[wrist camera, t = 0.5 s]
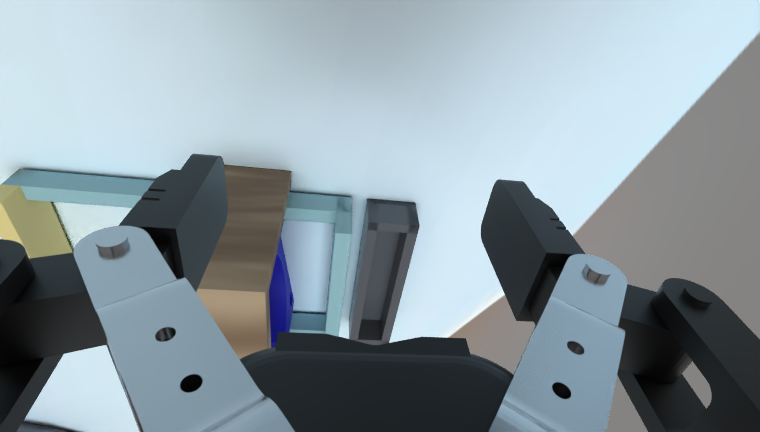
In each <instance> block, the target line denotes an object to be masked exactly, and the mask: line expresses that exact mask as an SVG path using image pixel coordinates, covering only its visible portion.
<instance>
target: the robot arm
mask: <svg viewBox="0 0 760 432" xmlns="http://www.w3.org/2000/svg"><path fill="white" fill-rule="evenodd" d="M227 213H228V202H227V191H226V180H225V170H224V162H223V158H222V157H221V156H214V155H202V154H192V155H191V156H190V158H189V159H188V160H187V162H186V163H185V165H184V166H183V167H182V169H181V170H170V171H168V172H166V173H165V174H163V175H161V176H159V177H158V178H156V179H155V181H154V182H153V183H152V184H151V186H150V187H149V188H148V191H146V192H145V193H144V194H143V196H142V197H141V200H139V201H138V202H137V203H136V204H135V206H134V207H133V208H132V210H131V211H130V212H129V213H128V215H127V216H126V217H125V218H124V220H123V221H122V222H121V223H120V225H119V226H114V227H108V228H104V229H101V230H98V231H95V232H93V233H91V234H89V235H87V236H86V237H84V238H83V239H81V240H80V241H79V242H78V243H77V245H76V246H75V248H74V252H72V253H66V254H59V255H52V256H44V257H37V258H29V257H28V254H27V252H26V250H25V248H24V246H23V245H22V244H20V243H18V242H16V241H12V240H4V239H0V432H17V430H18V429H19V427H20V425H21V424H22V422H23V420H24V419H25V417H26V415H27V414H28V412H29V410H30V409H31V407H32V406H33V404H34V402H35V401H36V399H37V397H38V396H39V394H40V392H41V391H42V389H43V387H44V386H45V384H46V382H47V381H48V379H49V377H50V376H51V374H52V372H53V371H54V369H55V367H56V366H57V364H58V362H59V361H60V359H61V357H62V356H63V354H64V353H69V352H74V351H78V350H83V349H88V348H93V347H97V346H102V345H107V348H108V351H109V353H110V356H111V358H112V361H113V363H114V366H115V369H116V371H117V374H118V376H119V379H120V381H121V384H122V387H123V389H124V392H125V394H126V397H127V399H128V402H129V405H130V407H131V410H132V412H133V415H134V418H135V420H136V423H137V426H138V428H139V431H140V432H606V428H607V423H608V418H609V413H610V408H611V403H612V398H613V393H614V388H615V383H616V378H617V375H618V377H619V379H620V380H621V382H622V384H623V386H624V388H625V390H626V392H627V393H628V395H629V397H630V399H631V401H632V403H633V405H634V406H635V408H636V410H637V412H638V414H639V416H640V417H641V419H642V421H643V423H644V425H645V426H646V428H647V430H648V432H760V339H759V338H758V337H757V336H756V335H755V334H754V333H753V332H752V331H751V330H750V329H749V328H748V327H747V326H746V325H745V324H744V323H743V322H742V320H741V319H739V317H738V316H737V315H736V314H735V313H734V312H733V311H732V310H731V309H730V308H729V307H728V306H727V305H726V304H725V303H724V301H722V300H721V299H720V298H719V297H718V296H717V295H715V294H714V293H713V292H711V291H710V290H708V289H706V288H705V287H703V286H701V285H699V284H696V283H694V282H691V281H688V280H684V279H679V278H670V279H667V280H665V281H664V282H663V284H662V285H661V286H660V288H659V289H658V291H657V292H654V291H650V290H647V289H643V288H639V287H635V286H632V285H628V284H627V280H626V278H625V276H624V274H623V273H622V272H621V271H620V270H619V269H618V268H617V267H615V266H614V265H613V264H611V263H609V262H608V261H606V260H604V259H601V258H599V257H596V256H592V255H588V254H585V253H584V251H583V250H582V249H581V247H580V246H579V245H578V243H577V242H576V241H575V239H574V238H573V236H572V235H571V234H570V232H569V231H568V230H566V227H565V226H564V224H563V223H562V222H561V221H559V218H558V216H557V215H556V214H555V212H554V211H553V209H552V208H551V207H549V206H548V205H546V204H545V203H544V202H542V201H541V200H540V199H538V198H535V197H534V195H533V194H532V193H531V191H530V190H529V188H528V187H527V185H526V184H525V183H524V182H522V181H511V180H497V181H496V182H495V184H494V186H493V189H492V192H491V196H490V199H489V202H488V205H487V208H486V211H485V215H484V218H483V221H482V225H481V239H482V242H483V245H484V247H485V249H486V252H487V254H488V256H489V259H490V261H491V263H492V265H493V268H494V270H495V272H496V275H497V277H498V279H499V282H500V284H501V286H502V289H503V291H504V293H505V296H506V298H507V300H508V302H509V305H510V307H511V309H512V312H513V314H514V316H515V319H516V320H517V321H533V322H534V323H535V325H536V326H535V328H534V330H533V332H532V334H531V337H530V339H529V341H528V343H527V345H526V347H525V349H524V352H523V354H522V356H521V358H520V360H519V362H518V365H517V367H516V369H515V371H514V373H513V374H512V373H510V372H509V371H508V370H506V369H505V368H503V367H501V366H499V365H498V364H496V363H494V362H492V361H490V360H488V359H485V358H483V357H480V356H477V355H474V354H470V352H469V348H468V345H467V341H466V339H464V338H438V337H418V338H413V339H408V340H403V341H398V342H392V343H387V344H382V345H370V344H366V343H362V342H358V341H354V340H350V339H346V338H342V337H338V336H334V335H330V334H323V333H294V332H278V336H277V342H276V347H273V348H268V349H264V350H261V351H257V352H254V353H252V354H250V355H247V356H245V357H243V358H241V359H239V358H238V356H237V355H236V353H235V352H234V350H233V349H232V347H231V346H230V344H229V343H228V341H227V339H226V338H225V336H224V335H223V333H222V332H221V330H220V329H219V327H218V326H217V324H216V323H215V321H214V320H213V318H212V316H211V315H210V313H209V312H208V310H207V309H206V307H205V306H204V304H203V303H202V301H201V300H200V298H199V297H198V295H197V293H196V291H197V289H198V287H199V284H200V282H201V280H202V277H203V275H204V273H205V270H206V268H207V266H208V263H209V261H210V259H211V256H212V254H213V252H214V249H215V247H216V245H217V243H218V240H219V238H220V236H221V233H222V231H223V229H224V226H225V224H226V220H227ZM692 361H693V362H694V364H695V365H696V366H697V368H698V369H699V370H700V372H701V373H702V374H703V376H704V377H705V378H706V380H707V381H708V383H709V385H710V388H711V392H712V400H711V403H710V405H709V406H708V408H707V409H706V408H705V406H704V405H703V404H702V403H701V401H700V399H699V398H698V396H697V395H696V394H695V392H694V391H693V389H692V388H691V386H690V385H689V384H688V382H687V381H686V379H685V378H684V377H683V375H682V373H683V372H684V371H685V369H686V368H687V367H688V366H689V365H690V363H691V362H692Z"/></svg>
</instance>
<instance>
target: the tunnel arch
mask: <svg viewBox="0 0 760 432" xmlns="http://www.w3.org/2000/svg"><path fill="white" fill-rule="evenodd" d="M224 170H225V180H226V191H227V202H228V213H227V220H226V224H225V226H224V229H223V231H222V233H221V236H220V238H219V240H218V243H217V245H216V247H215V249H214V252H213V254H212V256H211V259H210V261H209V263H208V266H207V268H206V270H205V273H204V275H203V277H202V280H201V282H200V284H199V287H198V289H197V291H196V293H197V295H198V297H199V298H200V300H201V301H202V303H203V304H204V306H205V307H206V309H207V310H208V312H209V313H210V315H211V316H212V318H213V320H214V321H215V323H216V324H217V326H218V327H219V329H220V330H221V332H222V333H223V335H224V336H225V338H226V339H227V341H228V343H229V344H230V346H231V347H232V349H233V350H234V352H235V353H236V355H237V356H238V358H239V359H241V358H243V357H245V356H247V355H250V354H252V353H254V352H257V351H261V350H264V349H268V348H271V331H270V303H269V288H270V283H271V278H272V273H273V269H274V264H275V259H276V254H277V250H278V245H279V240H280V235H281V230H282V226H283V221H284V216H285V211H286V206H287V202H288V197H289V192H290V187H291V171H283V170H272V169H262V168H251V167H240V166H229V165H224Z"/></svg>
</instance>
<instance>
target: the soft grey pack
mask: <svg viewBox="0 0 760 432" xmlns="http://www.w3.org/2000/svg"><path fill="white" fill-rule="evenodd" d="M17 432H68V431H64V430H61V429H58V428H54V427H48V426H42V425H36V424H30V423H24V422H22V424H21V425H20V427H19V429H18V430H17Z"/></svg>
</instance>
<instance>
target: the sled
mask: <svg viewBox="0 0 760 432" xmlns="http://www.w3.org/2000/svg"><path fill="white" fill-rule="evenodd" d="M153 182H154V181H153V180H141V179H129V178H118V177H106V176H94V175H83V174H71V173H59V172H48V171H36V170H24V169H19V170H17V171H16V172H15V173H14V174H13V175H12V176H10V177H9V178H8V179H7V180H6V181H5V182H4V183H2V184H1V185H0V236H1V237H2V239H4V240H12V241H16V242H18V243H20V244H22V245H23V246H24V248H25V250H26V252H27V254H28V257H29V258H37V257H44V256H52V255H59V254H66V253H72V250H71V247H70V245H69V243H68V241H67V238H66V236H65V234H64V231H63V229H62V227H61V225H60V222H59V220H58V218H57V215H56V213H55V211H54V209H53V206H52V204H51V202H64V203H77V204H89V205H102V206H115V207H128V208H133V207H134V206H135V204H136V203H137V202H138V201H139V200H141V197H142V196H143V194H144V193H145V192H146V191H148V188H149V187H150V186H151V184H152V183H153ZM50 201H51V202H50ZM284 220H296V221H309V222H322V223H335V225H334V235H333V246H332V256H331V267H330V277H329V287H328V298H327V308H326V315H322V314H302V313H292V318H291V325H290V332H294V333H323V334H330V335H334V336H338V335H339V327H340V320H341V312H342V305H343V297H344V289H345V282H346V274H347V267H348V259H349V252H350V244H351V236H352V198H351V197H340V196H328V195H316V194H305V193H293V192H289V197H288V202H287V206H286V211H285V216H284Z"/></svg>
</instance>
